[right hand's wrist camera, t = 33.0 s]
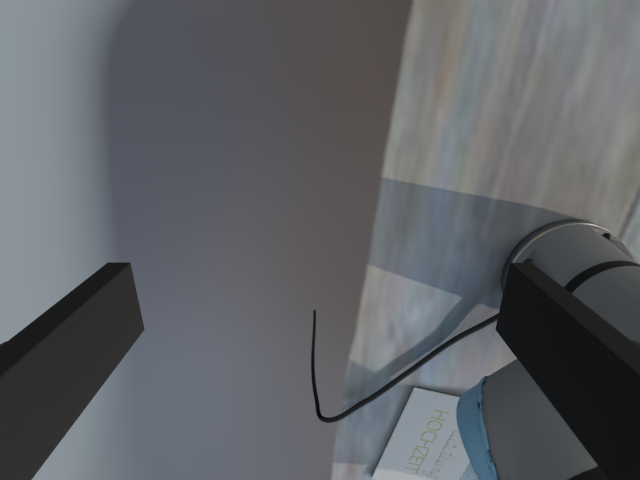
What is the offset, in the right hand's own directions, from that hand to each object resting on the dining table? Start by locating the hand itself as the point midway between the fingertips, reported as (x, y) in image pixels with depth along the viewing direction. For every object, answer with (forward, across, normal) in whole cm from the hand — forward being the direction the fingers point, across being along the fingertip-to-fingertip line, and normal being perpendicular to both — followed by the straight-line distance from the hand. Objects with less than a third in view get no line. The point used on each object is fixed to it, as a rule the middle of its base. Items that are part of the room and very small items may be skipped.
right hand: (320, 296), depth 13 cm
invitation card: (+33, -19, +48) cm, 61 cm away
